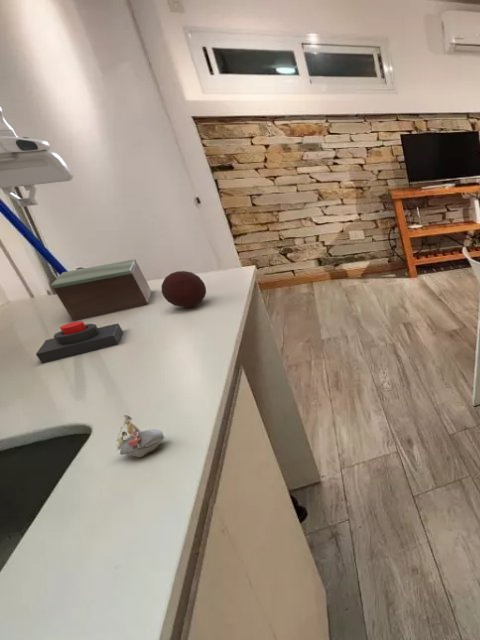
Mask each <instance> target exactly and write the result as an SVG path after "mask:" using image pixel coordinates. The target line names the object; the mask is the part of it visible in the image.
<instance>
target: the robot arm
mask: <svg viewBox="0 0 480 640" xmlns="http://www.w3.org/2000/svg"><path fill="white" fill-rule="evenodd" d="M73 178H74V174H73V172H72V170H70V168H69V166H68V165H67V163H66V162H65V161H64V159H63V157H62V156H60V155H59V154H58V153H56V152H55V151H53V150H51V146H50V143H49V142H48V141H47V140H44V139H36V138H31V137H27V136H18V135H17V134H16V132H15V130H14V129H13V127H12V126H11V125H10V124H9V123H8V122H7V121H6V119H5V117H4V111H3V109H2V107H1V106H0V190H1V191H2V192H3V194H4V195H6V196H7V197H9V198H11V199H13V200H14V201H16V203H17V206H18V207H20V208H23V207H31V206H32V207H33V206H38V201H37V200H36V198H35V197H36V193H37V192H36V191H37V188H36V185H46V184H54V183H55V184H56V183H63V182H71V181H72V180H73ZM17 187H23V188H24V190H25V191H29V192H28V197H22V198H21V197H20V196H18V195H17V194H15V189H14V188H17Z"/></svg>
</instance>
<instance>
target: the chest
mask: <svg viewBox="0 0 480 640" xmlns="http://www.w3.org/2000/svg"><path fill="white" fill-rule="evenodd" d="M53 290H54V292H55V294H56V295H57V298H58V299H59V300H60V302H61V303H62V306H63V307H64V308H65V310H66V312H67V314H68V315H69V317H70V318H71V320H72V321H73V322H76V321H80V320H83V319H88V318H93V317H98V316H102V315H106V314H110V313H115V312H119V311H124V310H129V309H132V308H138V307H143V306H147V305H149V304H150V300H151V295H152V292H153V291H152V289H151V287H150V285H149V283H148V281H147V280H146V277H145V275H144V273H143V272H142V269H141V268H140V265H139V263H138V262H137V261H136V264H135V266H134V268H133V271H132V273H131V274H126V275H121V276H116V277H110V278H105V279H100V280H95V281H90V282H84V283H79V284H74V285H69V286H64V287H58V288H53Z"/></svg>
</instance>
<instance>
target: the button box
mask: <svg viewBox="0 0 480 640" xmlns="http://www.w3.org/2000/svg"><path fill="white" fill-rule="evenodd" d="M84 324H85V326H86V328H87V329H85V330H82V331H79V332H76V333H72V334H66V335H64V334H63V332H62V330H60V331H58V332H56V333H54V335H53V338H49V339H46V340H45V341H44V342H43V343H42V345H41V346H40V347H39V349H38V351H37V352H36V353H35V355H36V357H37V359H38V360H39V361H40V363H41V364H44V363H49V362H53V361H57V360H60V359H65V358H69V357H73V356H76V355H80V354H85V353H89V352H93V351H97V350H100V349H105V348H108V347H113V346H116V345H119V343H120V341H121V338H122V335H123V333H124V330H123V329H122V327H121V326H120V324H119V323H118V322H117V323H113V324H108V325H105V326H100V327H98V326H97V324H94V323H84Z"/></svg>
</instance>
